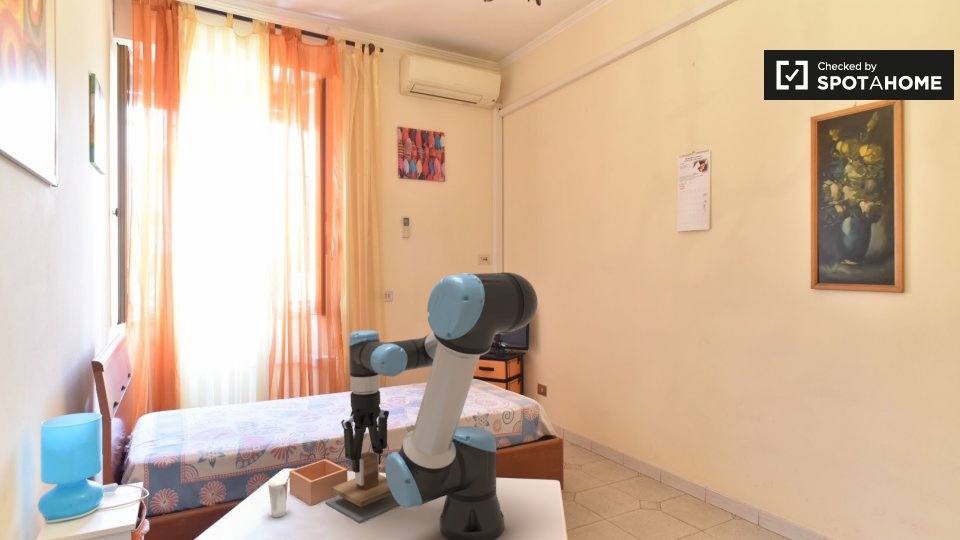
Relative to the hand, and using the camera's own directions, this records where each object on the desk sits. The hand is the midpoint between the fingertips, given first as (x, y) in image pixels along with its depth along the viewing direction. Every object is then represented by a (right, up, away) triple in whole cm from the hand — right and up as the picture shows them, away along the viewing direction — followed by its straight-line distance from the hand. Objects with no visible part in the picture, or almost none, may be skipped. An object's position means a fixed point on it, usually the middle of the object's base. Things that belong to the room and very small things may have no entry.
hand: (367, 480), depth 135 cm
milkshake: (-21, -6, -5) cm, 22 cm away
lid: (0, -3, 0) cm, 3 cm away
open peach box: (-15, -6, +7) cm, 17 cm away
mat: (0, -6, 0) cm, 6 cm away
